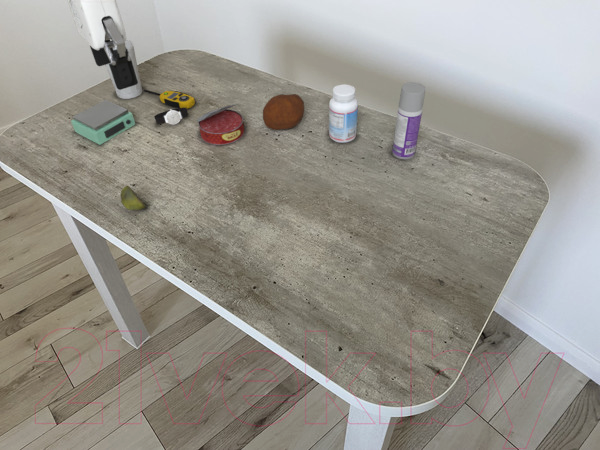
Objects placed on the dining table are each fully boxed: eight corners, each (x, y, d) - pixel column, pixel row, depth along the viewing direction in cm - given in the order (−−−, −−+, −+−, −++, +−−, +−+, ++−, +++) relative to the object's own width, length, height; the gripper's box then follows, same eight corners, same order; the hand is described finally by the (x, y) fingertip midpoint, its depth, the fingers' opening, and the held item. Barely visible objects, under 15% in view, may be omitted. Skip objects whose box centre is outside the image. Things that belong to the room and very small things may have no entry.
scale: (100, 145, 106) (96, 134, 104) (75, 132, 110) (70, 120, 108) (136, 124, 112) (133, 113, 109) (110, 112, 116) (107, 101, 114)
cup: (127, 82, 126) (114, 37, 118) (152, 88, 124) (140, 42, 115) (106, 96, 121) (91, 50, 113) (131, 103, 119) (117, 56, 110)
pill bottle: (352, 126, 109) (354, 80, 101) (359, 142, 105) (362, 95, 97) (325, 129, 108) (326, 83, 100) (331, 145, 104) (333, 98, 96)
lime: (132, 198, 93) (125, 177, 90) (154, 203, 92) (147, 182, 88) (118, 213, 90) (110, 192, 87) (141, 218, 89) (133, 198, 85)
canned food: (210, 160, 109) (181, 130, 102) (215, 131, 115) (189, 101, 108) (252, 142, 104) (225, 109, 98) (255, 112, 111) (230, 80, 104)
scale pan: (95, 131, 104) (94, 127, 104) (73, 119, 108) (72, 116, 107) (128, 112, 109) (127, 109, 109) (106, 102, 113) (105, 99, 112)
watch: (159, 130, 110) (155, 116, 107) (153, 120, 113) (149, 106, 110) (191, 120, 112) (188, 107, 110) (185, 111, 115) (182, 98, 113)
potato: (313, 122, 111) (313, 92, 105) (282, 143, 105) (280, 113, 100) (286, 110, 115) (285, 80, 109) (254, 129, 109) (251, 99, 104)
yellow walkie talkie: (185, 104, 114) (136, 90, 119) (186, 111, 115) (138, 97, 120) (197, 95, 117) (149, 82, 122) (198, 102, 118) (150, 88, 123)
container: (414, 147, 103) (426, 82, 92) (414, 160, 99) (426, 94, 89) (392, 145, 103) (401, 80, 93) (391, 158, 100) (400, 93, 90)
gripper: (33, -53, 68) (77, 62, 80) (67, -23, 58) (112, 104, 70) (86, -63, 71) (121, 49, 83) (127, -36, 61) (160, 88, 73)
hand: (116, 74), depth 76 cm, fingers open, 9 cm apart
